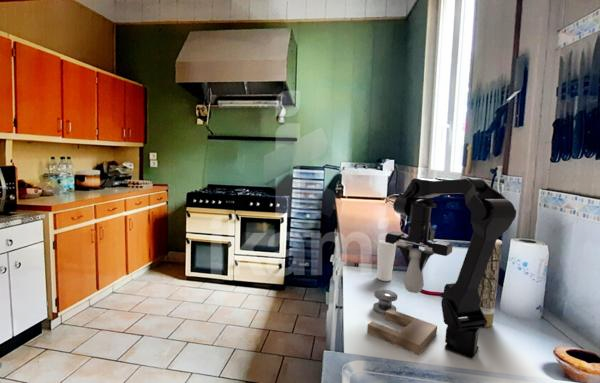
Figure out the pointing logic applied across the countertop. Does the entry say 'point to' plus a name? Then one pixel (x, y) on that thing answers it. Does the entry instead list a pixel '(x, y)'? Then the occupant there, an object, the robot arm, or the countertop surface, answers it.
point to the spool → (384, 301)
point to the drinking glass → (385, 260)
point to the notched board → (404, 331)
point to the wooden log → (490, 284)
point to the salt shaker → (414, 272)
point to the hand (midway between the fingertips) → (414, 269)
